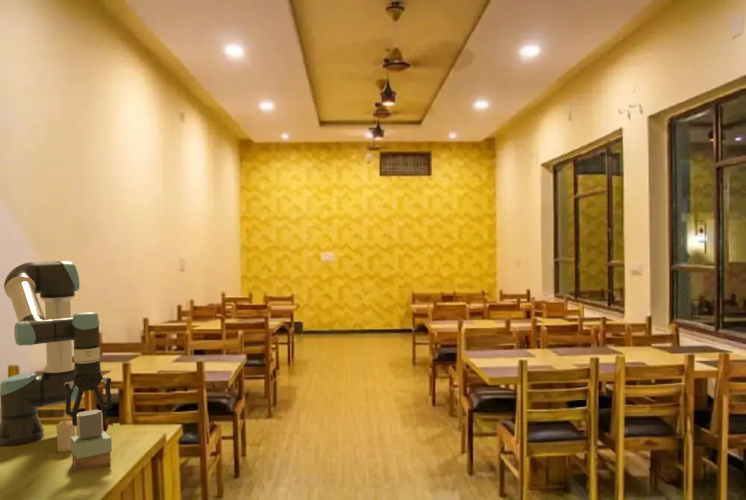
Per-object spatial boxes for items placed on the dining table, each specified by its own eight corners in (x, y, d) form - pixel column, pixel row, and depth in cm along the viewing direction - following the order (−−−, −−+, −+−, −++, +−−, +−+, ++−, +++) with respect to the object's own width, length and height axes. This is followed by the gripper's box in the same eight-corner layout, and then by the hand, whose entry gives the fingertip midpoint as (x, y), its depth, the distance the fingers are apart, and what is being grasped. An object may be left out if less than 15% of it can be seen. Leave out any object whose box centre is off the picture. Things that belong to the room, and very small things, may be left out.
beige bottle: (68, 452, 209) (67, 422, 209) (53, 451, 210) (52, 422, 210) (79, 447, 214) (77, 418, 214) (65, 446, 215) (64, 418, 215)
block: (78, 434, 197) (77, 412, 197) (98, 430, 200) (98, 409, 200) (80, 438, 192) (80, 416, 192) (101, 435, 195) (100, 413, 195)
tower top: (70, 451, 197) (70, 437, 197) (104, 444, 203) (103, 430, 203) (77, 459, 189) (76, 444, 189) (111, 451, 195) (111, 437, 195)
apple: (82, 436, 227) (81, 414, 227) (104, 431, 232) (103, 410, 232) (89, 440, 221) (88, 418, 221) (111, 435, 226) (110, 414, 226)
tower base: (72, 464, 198) (72, 450, 198) (106, 457, 203) (105, 444, 203) (75, 473, 189) (75, 459, 189) (110, 466, 194) (110, 452, 194)
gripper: (54, 366, 188) (57, 442, 188) (121, 359, 198) (123, 430, 198) (52, 363, 194) (55, 436, 194) (117, 355, 204) (119, 425, 204)
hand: (89, 433), depth 196 cm, fingers closed on block, 6 cm apart
